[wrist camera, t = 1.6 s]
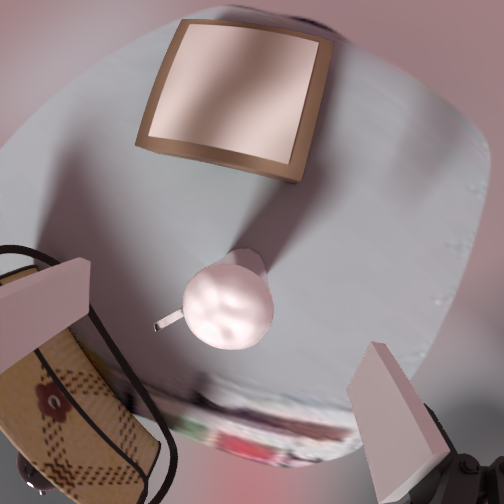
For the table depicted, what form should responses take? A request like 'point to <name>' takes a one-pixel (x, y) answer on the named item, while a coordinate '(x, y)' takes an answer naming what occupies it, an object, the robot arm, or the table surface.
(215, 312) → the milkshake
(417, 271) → the table surface
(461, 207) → the table surface
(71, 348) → the clutch purse
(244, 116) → the dock
